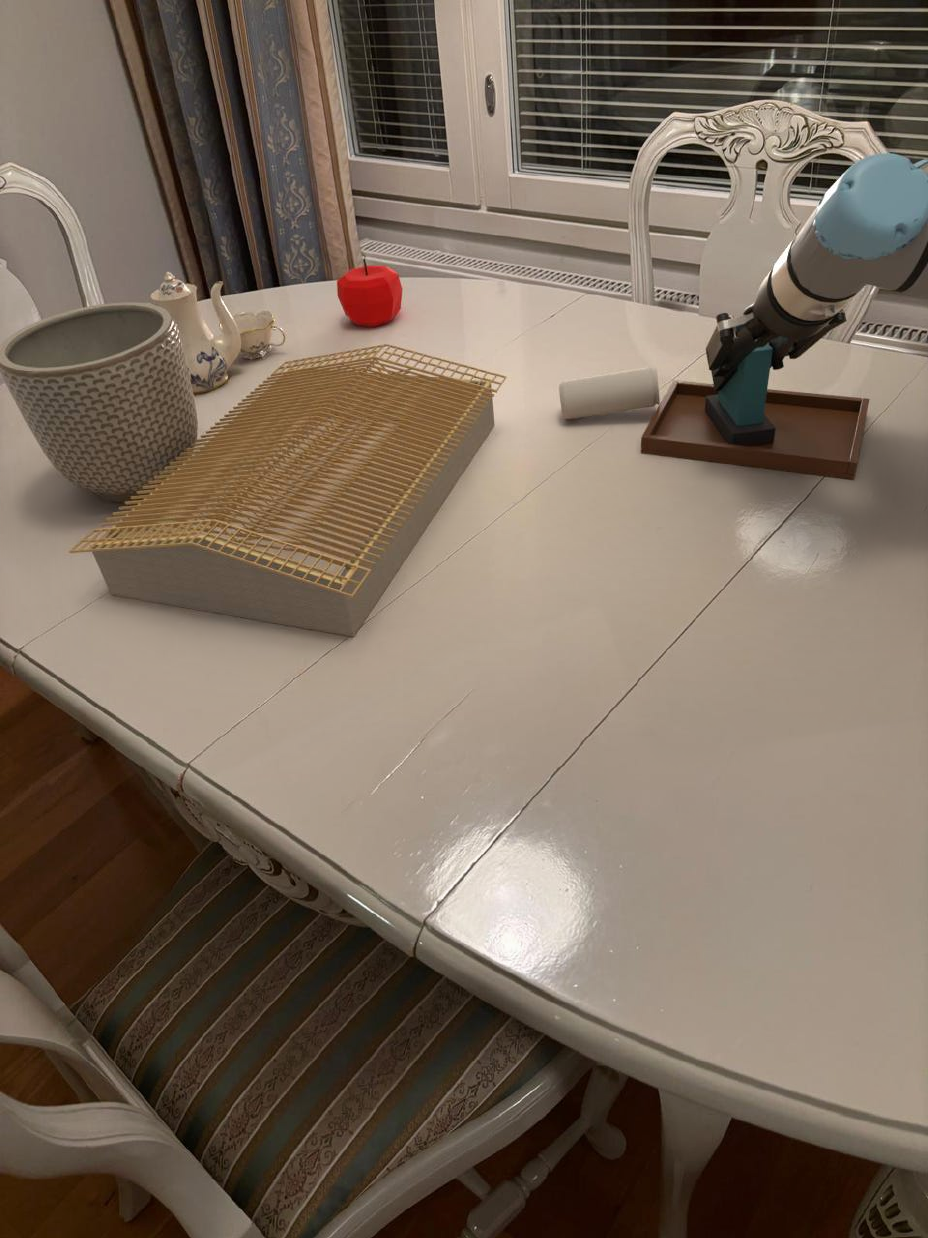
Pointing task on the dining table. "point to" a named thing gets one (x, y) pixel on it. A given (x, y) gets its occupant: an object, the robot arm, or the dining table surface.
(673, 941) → the dining table surface
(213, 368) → the chinaware
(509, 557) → the dining table surface
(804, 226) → the robot arm
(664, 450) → the tray
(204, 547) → the roof frame
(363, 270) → the apple
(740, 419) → the teal block on base
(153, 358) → the planter
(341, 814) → the dining table surface
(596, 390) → the beverage can
